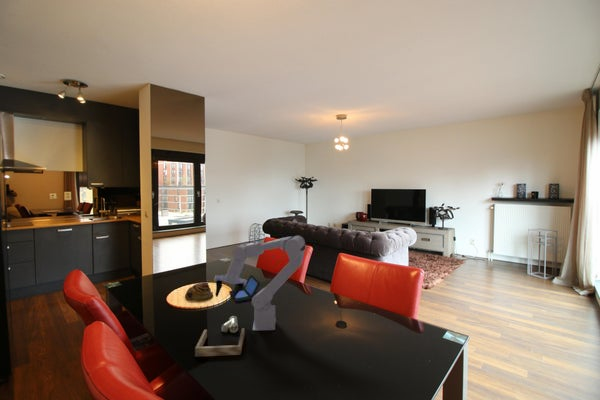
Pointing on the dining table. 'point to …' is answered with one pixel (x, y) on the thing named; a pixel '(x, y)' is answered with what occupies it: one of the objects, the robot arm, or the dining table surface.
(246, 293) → the handheld game console
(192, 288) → the brown swirled mound
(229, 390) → the dining table surface
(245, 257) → the robot arm
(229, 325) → the pipe fitting
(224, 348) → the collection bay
